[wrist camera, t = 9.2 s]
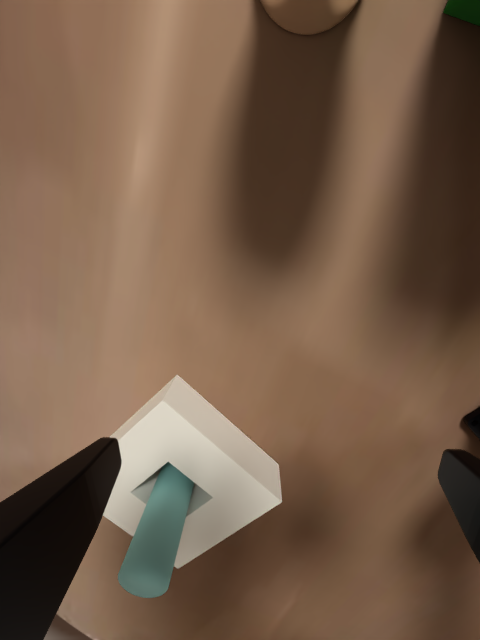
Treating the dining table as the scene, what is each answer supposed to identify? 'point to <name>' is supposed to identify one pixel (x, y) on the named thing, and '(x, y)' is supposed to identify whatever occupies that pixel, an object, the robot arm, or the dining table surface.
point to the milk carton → (464, 10)
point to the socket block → (192, 468)
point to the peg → (157, 535)
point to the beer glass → (308, 14)
